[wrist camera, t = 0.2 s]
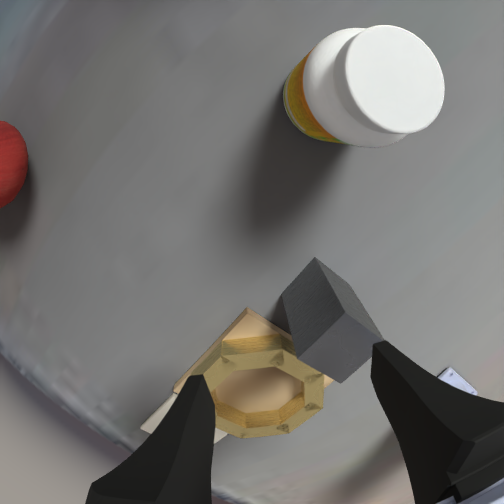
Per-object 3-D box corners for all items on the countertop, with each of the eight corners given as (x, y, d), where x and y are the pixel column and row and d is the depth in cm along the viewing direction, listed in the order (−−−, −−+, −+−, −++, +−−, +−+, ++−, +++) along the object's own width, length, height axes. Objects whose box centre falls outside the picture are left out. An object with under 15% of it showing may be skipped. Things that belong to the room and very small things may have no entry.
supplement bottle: (299, 152, 19) (355, 175, 10) (268, 71, 17) (297, 20, 8) (376, 127, 18) (474, 136, 9) (348, 50, 16) (429, 2, 7)
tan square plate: (341, 365, 25) (343, 372, 24) (264, 427, 28) (265, 433, 27) (247, 307, 23) (247, 313, 22) (174, 384, 25) (173, 390, 24)
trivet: (237, 423, 27) (237, 426, 27) (198, 451, 29) (198, 454, 29) (173, 392, 26) (173, 396, 25) (140, 425, 27) (140, 428, 27)
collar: (343, 371, 24) (349, 386, 23) (265, 433, 27) (266, 448, 25) (247, 312, 22) (248, 327, 20) (172, 390, 24) (169, 406, 23)
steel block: (349, 284, 22) (386, 342, 16) (316, 318, 23) (340, 383, 17) (314, 256, 21) (345, 312, 15) (281, 293, 22) (297, 358, 16)
